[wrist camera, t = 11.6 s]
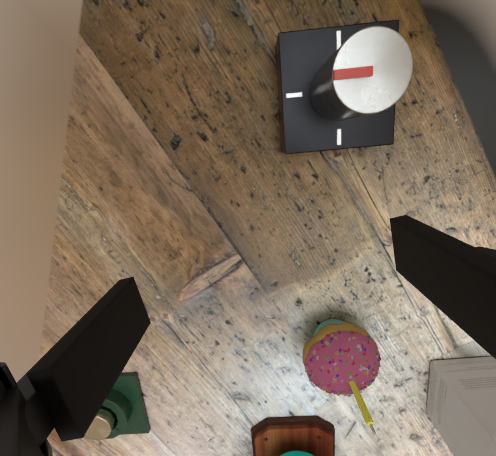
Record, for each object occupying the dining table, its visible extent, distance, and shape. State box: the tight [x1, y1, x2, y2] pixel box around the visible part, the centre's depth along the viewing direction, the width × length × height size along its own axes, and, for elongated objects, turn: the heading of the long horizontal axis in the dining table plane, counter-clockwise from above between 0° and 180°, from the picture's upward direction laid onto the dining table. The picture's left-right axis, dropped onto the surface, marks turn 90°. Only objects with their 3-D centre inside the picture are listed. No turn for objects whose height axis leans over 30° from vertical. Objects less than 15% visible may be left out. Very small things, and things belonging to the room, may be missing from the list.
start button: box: [85, 406, 116, 440], centre depth 39 cm, size 4×4×2 cm
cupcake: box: [303, 319, 381, 435], centre depth 32 cm, size 9×8×12 cm
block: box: [84, 372, 150, 439], centre depth 41 cm, size 10×10×2 cm
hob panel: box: [275, 20, 399, 154], centre depth 28 cm, size 10×10×4 cm
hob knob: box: [310, 26, 413, 121], centre depth 22 cm, size 5×5×8 cm
